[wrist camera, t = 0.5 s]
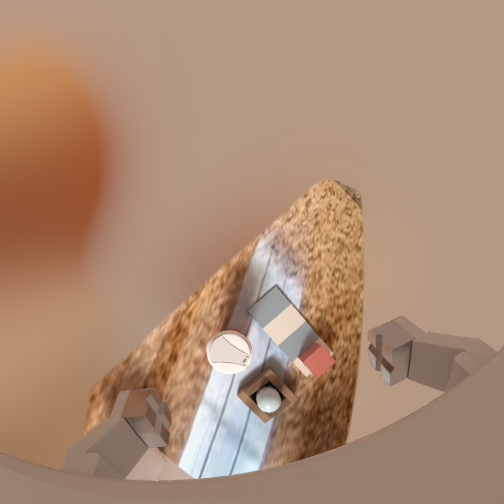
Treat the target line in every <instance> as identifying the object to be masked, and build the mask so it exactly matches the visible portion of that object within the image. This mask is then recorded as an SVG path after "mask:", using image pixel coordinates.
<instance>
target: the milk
mask: <svg viewBox="0 0 504 504" xmlns="http://www.w3.org/2000/svg"><path fill="white" fill-rule="evenodd" d="M165 463H166V460H165V458H164V456H163V455H162V453H161V452H160V450H159V449H158V447H152V448H148V450H147V451H146V453H145V454H144V455H143V457H142V458H141V459H140V460H139V462H138V463H137V464H136V466H135V467H134V468H133V469H132V471H131V472H130V473H129V475H128V476H127V477H126V478H125V479H129V480H155V479H156V477H157V475H158V474H159V472H160V471H161V469H162V468H163V466H164V464H165Z"/></svg>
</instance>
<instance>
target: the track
mask: <svg viewBox="0 0 504 504" xmlns="http://www.w3.org/2000/svg"><path fill="white" fill-rule="evenodd" d="M248 312H249V313H250V314H251V316H252V317H253V318H254V319H255V320H256V321H257V323H258V324H259V325H260V326H261V327H262V328H263V329H264V331H265V332H266V333H267V334H268V335H269V336H270V337H271V338H272V340H273V341H274V342H275V343H276V344H277V345H278V346H279V347H280V349H281V350H282V351H283V352H284V353H285V354H286V355H287V356H288V357H289V359H290V360H291V361H292V362H293V363H294V364H295V365H296V366H297V367H298V368H299V369H300V371H301V372H302V373H303V374H304V375H305V376H306V377H307V376H309V375H310V374H311V373H312V372H311V371H310V370H309V369H308V368H307V367H306V366H305V365H304V364H303V363H302V361H301V360H300V359H299V358H298V357H299V356H300V355H301V354H302V353H303V352H304V351H306V350H307V349H308V348H309V347H310V346H311V345H312V344H313V343H314V342H316V343H318V344H320V345H322V346H323V347H324V349H325V350H326V351H327V352H328V353H329V354H330V356H331V355H332V354H333V352H332V351H331V350H330V348H329V347H328V346H327V345H326V344H325V343H324V342H323V340H322V339H321V338H320V337H319V336H318V335H317V333H316V332H315V331H314V330H313V329H312V328H311V326H310V325H309V324H308V323H307V322H306V321H305V320H304V318H303V317H302V316H301V315H300V314H299V313H298V311H297V310H296V309H295V308H294V307H293V306H292V304H291V303H290V302H289V301H288V300H287V299H286V297H285V296H284V295H283V294H282V293H281V292H280V290H279V289H278V288H277V287H275V288H273V289H272V290H271V291H270V292H269V293H268V294H266V295H265V296H264V297H263V298H262V299H261V300H259V301H258V302H257V303H256V304H255V305H254V306H252V307H251V308H250V309H249V310H248Z"/></svg>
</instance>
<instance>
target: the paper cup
mask: <svg viewBox="0 0 504 504" xmlns="http://www.w3.org/2000/svg"><path fill="white" fill-rule="evenodd" d="M206 352H207V356H208V360H209V362H210V363H211V365H212V366H213V367H214V368H215V369H216V370H218V371H220V372H222V373H225V374H235V373H238V372H241V371H243V370H244V369H245V368H246V367H247V366H248V365H249V364H250V362H251V359H252V354H253V351H252V346H251V343H250V342H249V340H248V339H247V338H246V337H245V336H244V335H243V334H241V333H240V332H238V331H236V330H226V331H222V332H220V333H218V334H216V335H215V336H214V337H213V338H212V339H211V340H210V341H209V342H208V344H207V348H206Z"/></svg>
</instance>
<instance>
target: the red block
mask: <svg viewBox="0 0 504 504" xmlns="http://www.w3.org/2000/svg"><path fill="white" fill-rule="evenodd" d="M298 358H299V359H300V360H301V361H302V363H303V364H304V365H305V366H306V367H307V368H308V369H309V370H310V371H311V372H312V373H313V374H314V375H315V376H316V377H317V378H319V377H320V376H321V375H322V374H323V373H324V372H326V371H327V370H328V369H329V368H330V367H331V366H332V365H333V364H334V363H335V362H336V361H335V360H334V359H333V358H332V357H331V356H330V354H329V353H328V352H327V351H326V350H325V349H324V347H323V346H322V345H320V344H318V343H316V342H314V343H313V344H312V345H311V346H310V347H309V348H308V349H307V350H306V351H304V352H303V353H302V354H301V355H300V356H299V357H298Z"/></svg>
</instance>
